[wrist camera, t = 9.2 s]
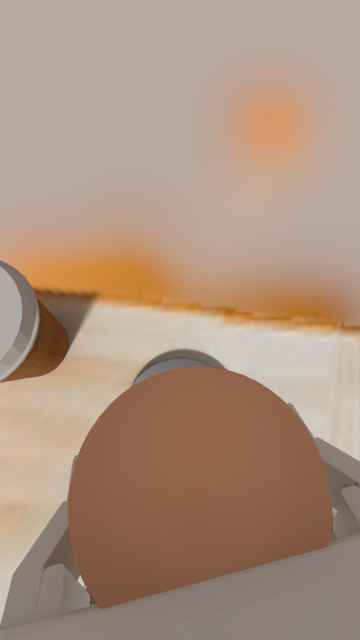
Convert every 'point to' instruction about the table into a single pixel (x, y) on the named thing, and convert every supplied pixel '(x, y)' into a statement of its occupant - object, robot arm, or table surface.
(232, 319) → the table surface
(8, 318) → the disposable coffee cup
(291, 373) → the table surface
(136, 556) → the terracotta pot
